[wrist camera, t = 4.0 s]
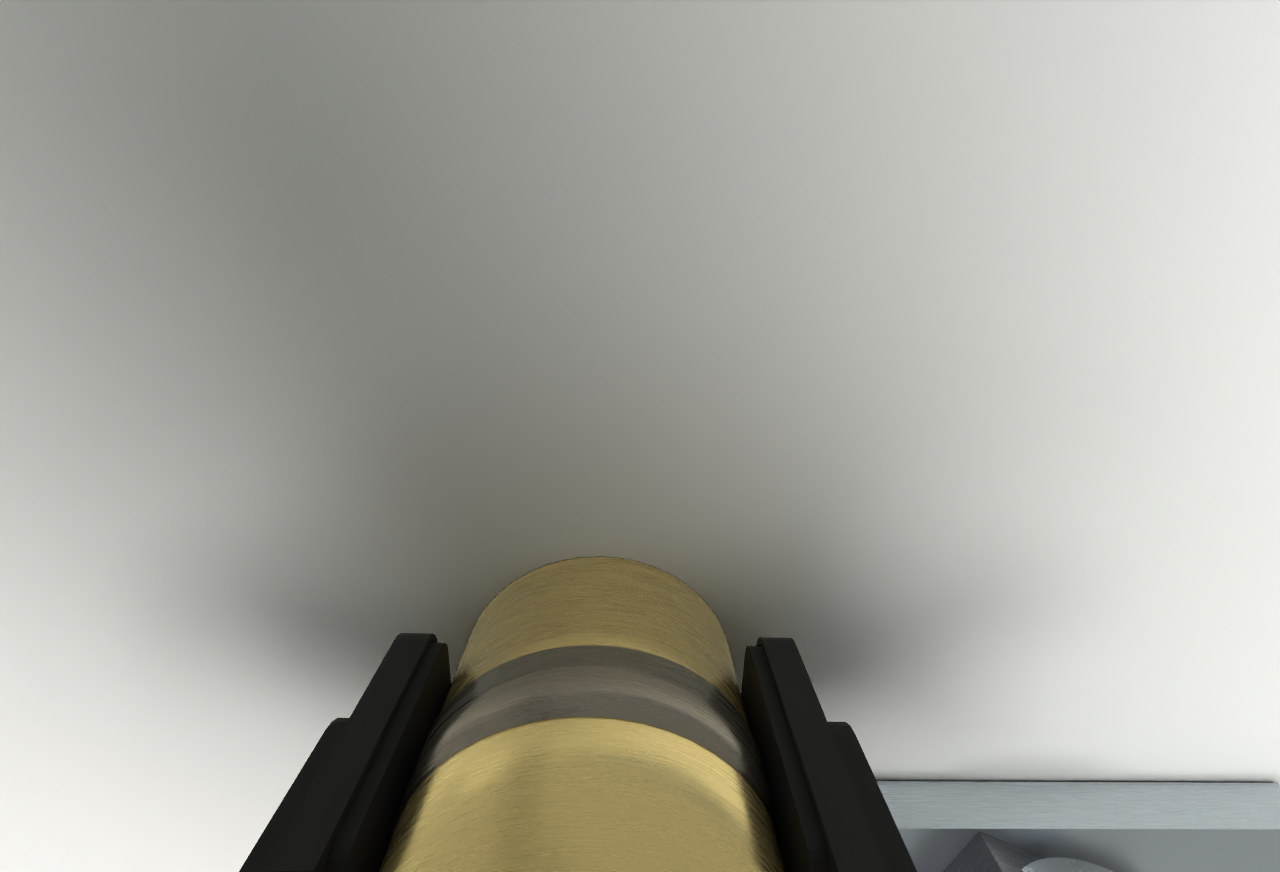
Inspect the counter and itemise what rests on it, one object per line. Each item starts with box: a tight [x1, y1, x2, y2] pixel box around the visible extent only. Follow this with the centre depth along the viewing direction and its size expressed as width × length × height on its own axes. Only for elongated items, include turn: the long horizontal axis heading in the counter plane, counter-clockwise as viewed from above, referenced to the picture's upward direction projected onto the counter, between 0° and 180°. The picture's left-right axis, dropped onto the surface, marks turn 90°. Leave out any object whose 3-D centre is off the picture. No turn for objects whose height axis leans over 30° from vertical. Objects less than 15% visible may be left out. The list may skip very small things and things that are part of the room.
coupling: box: [379, 557, 785, 872], centre depth 8 cm, size 5×5×6 cm
